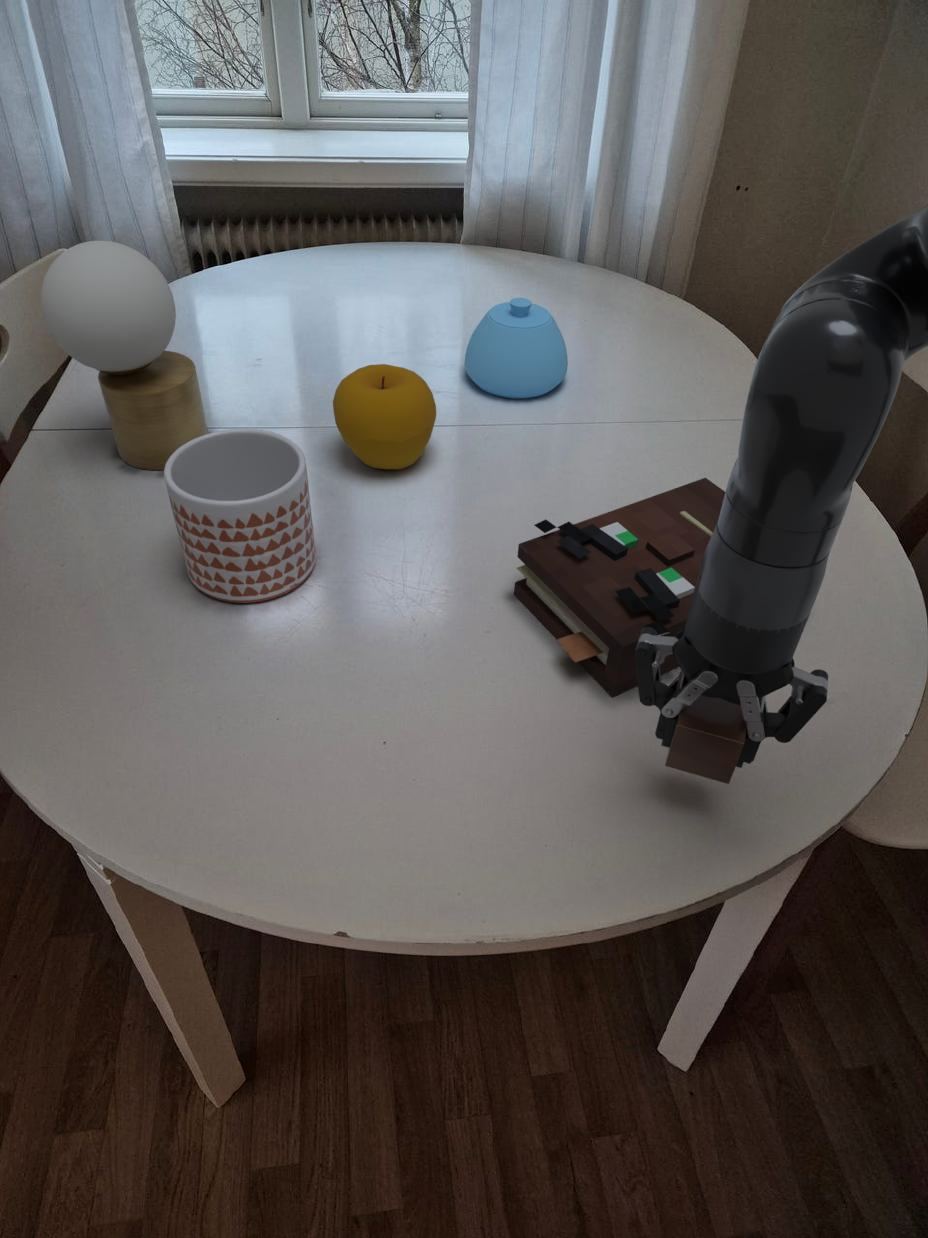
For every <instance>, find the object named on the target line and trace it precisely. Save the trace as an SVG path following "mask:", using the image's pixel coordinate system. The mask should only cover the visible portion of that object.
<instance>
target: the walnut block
mask: <svg viewBox="0 0 928 1238" xmlns="http://www.w3.org/2000/svg"><path fill="white" fill-rule="evenodd" d="M746 730H747V727H746V721H744V719H743V714H742V709H741V705H737V704H733V703H730V702H728V701H726V700H723V699H721V698H712V697H706V696H702V695H701V696H700V697H699V698H698V699H697V700H696V701H695V702H694V703H693V704H692V705H691V706H686V707H685V708H684V709H683V710H682V711H681V712H680V713H679V715H678V720H677V723H676V727H675V730H674V734H673V737H672V741H671V744H670V747H669V748H668V751H667V755H666V760H665V764H664V766H665V767H667V768H671V769H675V770H677V771H680V772H685V773H689V774H692V775H694V776H699V777H702V778H706V779H709V780H712V781H716V782H719V783H723V784H726V785H729V784H730V782H731V780H732V777H733V775H734V772H735V770H736V768H737V767H736V764H737V762H738V759H739V757H740V754H741V751H742V749H743V746H744V743H745V737H746Z"/></svg>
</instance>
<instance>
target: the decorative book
mask: <svg viewBox="0 0 928 1238" xmlns="http://www.w3.org/2000/svg"><path fill="white" fill-rule="evenodd" d="M725 492H726V490H724V489H722V488H721V487H719V486H718V485H717V484H715V483H714V482H713V481H711V480H710V479H709V478H707V477H703V478H699V479H698V480H695V481H692V482H689V483H686V484H684V485H681V486H678V487H675V488H672V489H670V490H667V491H666V490H665V491H663V492H661V493H658V494H654V495H653V496H650V497H647V498H644V499H641V500H639V501H636V502H632V503H630V504H627V505H625V506H621V507H619V508H616V509H613V510H611V511H608V512H605V513H602V514H598V515H596V516H593V517H591V518H587V519H585V520H582V521H579V522H576V523H574V524H573V523H572V522H571V521H566V522H564V523H562V524H561V525H558V526H556V525H554V524H553V523H552V522H550V520H547V519H543V520H541V521H539V522H537V523H535V524H533V526H534V527H536V528H537V529H538V530H539V531H541V532H542V533H544V534H543V535H540V536H537V537H534V538H531V539H529V540H525V541H523V542H520V543H518V545H517V546H518V547H517V556H516V557H517V558H518V560H520V561H521V562H522V563H523V565H521V566H518V567H516V570H517V571H518V572H519V573H520V574H521V575H523V577H524V578H522V579H519V580H517V581H514V590H513V596H515V597H516V598H517V599H518V600H519V601H520V602H521V603H522V605H524V607H525V608H527V610H528V611H529V612H530V613H531V614H532V615H533V616H534V617H535V618H536V619H537V620H538V621H539V622H540V624H542V625H543V627H544V628H546V630H547V631H548V632H549V633H550V634H551V635H552V636H553V637H554V638H555V639H556V641H557V642H558V644H559V645H560V646H561V647H562V649H563V650H564V651H565V652H566V654H567V656H569V657H570V659H571V660H572V661H573V663H579V664H580V666H582V668H583V669H584V670H585V671H586V672H587V673H588V674H589V675H590V676H591V677H592V678H593V679H594V680H595V681H596V682H597V683H598V684H599V685H600V686H601V687H602V689H603V690H604V691H605V692H606V693H607V694H608V695H609V696H610V697H611V698H614V697H617V696H620V695H622V694H623V693H625V692H627V691H630V690H632V689H634V688H636V687H638V680H637V671H636V661H635V650H636V647H637V643H638V640H639V637H640V633H641V630H642V629H643V628H645V627H651V628H653V629H655V630H656V632H657V636H668V637H676V635H677V634H678V633H679V632H680V631H681V630H682V629H683V628H684V627H685V625H686V622H687V618H688V614H689V610H690V607H691V603H692V599H693V595H694V592H695V588H696V584H697V580H698V577H699V573H700V566H701V561H702V558H703V556H704V554H705V551H706V548H707V545H708V543H709V540H710V538H711V536H712V534H713V532H714V529H715V527H716V524H717V521H718V518H719V514H720V510H721V507H722V503H723V499H724V496H725ZM556 528H557V530H555V529H556ZM552 530H554V531H552ZM550 531H551V532H550ZM677 668H680V666H679V665H678V663H677V661H676V660H675V658H674V656H673V654H670V655H667V656H666V658H665V661H664V663H662V664H660V675H661V676H662V675H664V674H666V673H669V672H671V671H672V670H675V669H677Z"/></svg>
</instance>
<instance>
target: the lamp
mask: <svg viewBox="0 0 928 1238" xmlns="http://www.w3.org/2000/svg"><path fill="white" fill-rule="evenodd" d="M40 300H41V301H40V304H41V305H40V306H41V311H42V315H43V319H44V322H45V324H46V327H47V329H48V331H49V333H50V335H51V337H52V338H53V339H54V341H55V342H56V343H57V345H58V346H59V348H61V349H62V350H63V351H64V352H65V353H66V354H67V355H68V356H69V357H71V358H72V359H73V360H75V361H76V362H78V363H80V364H82V365H83V366H85V367H88V368H91V369H95V370H96V371H98V375H97V380H98V384H99V387H100V388H99V389H100V391H101V394H102V398H103V403H104V406H105V409H106V411H107V416H108V419H109V423H110V426H111V431H112V434H113V437H114V440H115V444H116V449H117V452H118V456H119V457H120V458H121V460H122V461H123V462H124V463H126V464H127V465H129V466H131V467H134V468H137V469H141V470H146V471H164V469H165V465H166V463H167V461H168V459H169V458H170V456H171V455H172V454H173V453H174V452H175V451H176V450H177V449H178V448H180V447H181V446H182V445H184V444H186V443H187V442H189V441H191V440H193V439H195V438H198V437H200V436H203V435H206V434H209V430H208V425H207V420H206V419H207V418H206V415H205V409H204V404H203V399H202V395H201V388H200V383H199V377H198V374H197V373H198V372H197V369H196V365H195V363H194V361H193V360H192V359H191V358H190V357H189V356H187V355H185V354H182V353H180V352H176V351H171V350H166V349H167V347H168V345H169V344H170V343H171V341H172V338H173V336H174V335H173V334H174V331H175V327H176V318H177V314H176V313H177V312H176V303H175V299H174V295H173V292H172V290H171V287H170V285H169V283H168V281H167V279H166V278H165V276H164V275H163V274H162V271H160V268H158V267H157V266H156V265H155V263H153V262H152V261H151V260H150V259H149V258H148V257H146V256H145V255H144V254H142V253H141V252H139V251H138V250H136V249H134V248H132V247H130V246H128V245H126V244H122V243H119V242H115V241H110V240H89V241H85V242H80V243H77V244H76V245H75V244H74V245H73V246H71V247H69V248H67V249H66V250H65V251H63V252H62V253H60V254H59V255H58V256H57V257H56V258H55V259H54V261H53V262H52V263H51V264H50V266H49V267H48V269H47V271H46V273H45V276H44V278H43V282H42V286H41V291H40Z"/></svg>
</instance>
